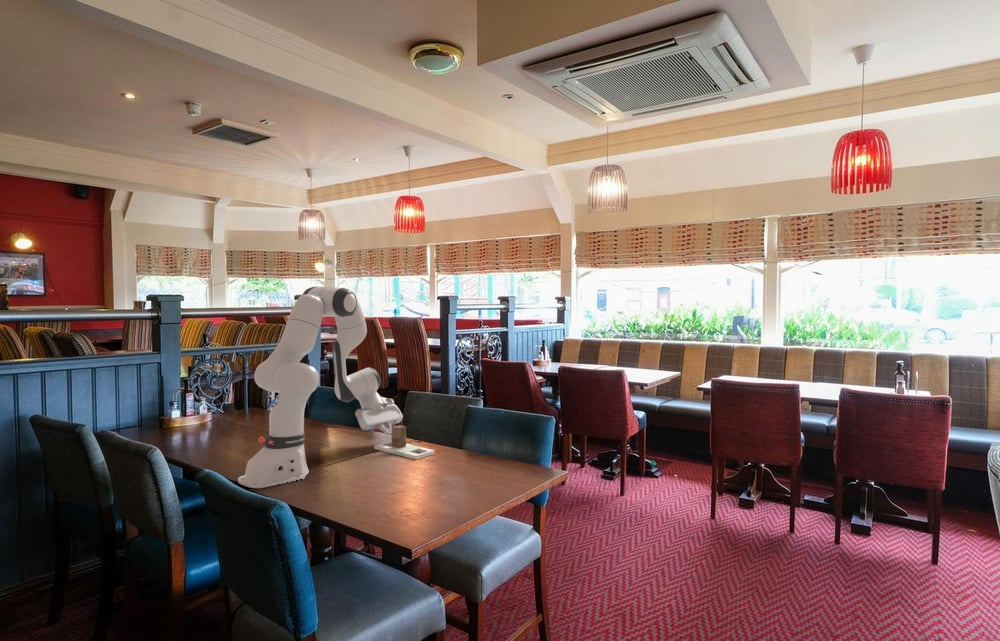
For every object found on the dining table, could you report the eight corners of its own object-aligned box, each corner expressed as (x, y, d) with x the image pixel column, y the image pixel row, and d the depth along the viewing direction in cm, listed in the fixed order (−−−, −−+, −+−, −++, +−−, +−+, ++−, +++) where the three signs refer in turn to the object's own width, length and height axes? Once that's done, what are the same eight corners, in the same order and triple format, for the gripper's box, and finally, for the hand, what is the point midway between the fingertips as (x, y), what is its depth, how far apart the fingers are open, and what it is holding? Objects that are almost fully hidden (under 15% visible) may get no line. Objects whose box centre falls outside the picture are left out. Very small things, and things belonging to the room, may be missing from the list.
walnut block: (398, 448, 221) (398, 428, 221) (391, 446, 223) (391, 426, 223) (406, 446, 224) (406, 426, 224) (399, 444, 226) (399, 425, 226)
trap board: (416, 459, 211) (416, 455, 211) (374, 448, 225) (374, 445, 225) (434, 454, 219) (434, 450, 219) (393, 443, 233) (393, 440, 233)
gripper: (356, 405, 223) (372, 433, 217) (395, 398, 239) (411, 424, 233) (349, 415, 226) (365, 443, 220) (388, 407, 242) (404, 433, 236)
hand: (389, 433), depth 227 cm, fingers closed
